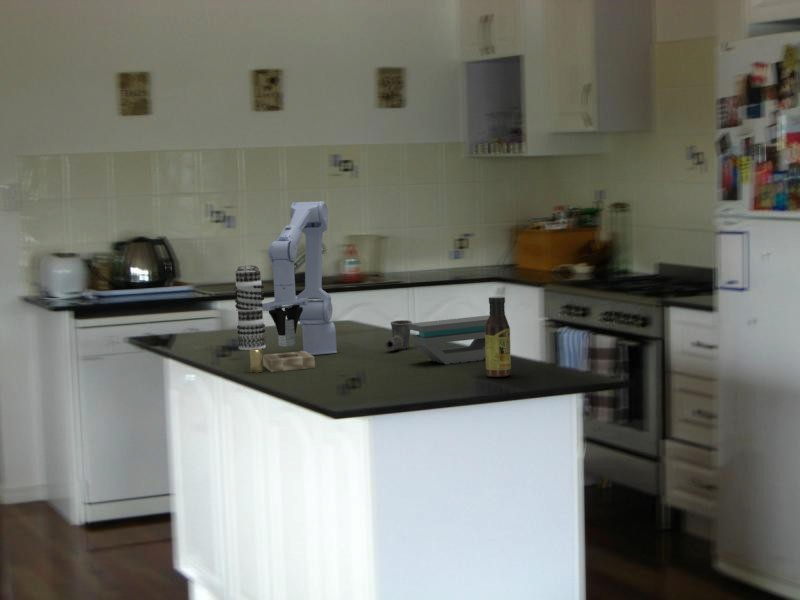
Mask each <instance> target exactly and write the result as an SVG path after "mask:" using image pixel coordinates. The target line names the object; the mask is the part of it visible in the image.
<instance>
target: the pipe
mask: <svg viewBox="0 0 800 600" xmlns="http://www.w3.org/2000/svg"><path fill="white" fill-rule="evenodd" d="M410 323H413V322H412V320H408V319H407V320H404V319H403V320H393V321H391V322H390V325H391V332H392V333H391V334H392V337H388V338H387V339H386V340H385V343H384V344H385V348H386V350H387V351H389V352H394V351H398V350H399V351H400V350H407V349H409V346H410V335H411V330H410V329H409V324H410ZM406 348H407V349H406Z"/></svg>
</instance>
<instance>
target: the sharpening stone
mask: <svg viewBox="0 0 800 600" xmlns="http://www.w3.org/2000/svg"><path fill="white" fill-rule="evenodd" d="M489 316H490V314H489V315H480V316H470V317H469V316H468V317H461V318H459V317H458V318H451V319H441V320H439V319H438V320H431V321H421V322H412V323H410V324H409V329H410V331H413V332H418V334H415V335H413V334H412V343H413V345H414V346H416V347H417V348H418V350H420V351H421V352H422V353H424V354H425V356H427V357H428V358H429V359H430V360H431V361H432V360H433V361H432V362H435V361H437V362H436V363H439V362H440V363H439V364H443V363H444V365H451V364H450V363H453V364H459V362H461V363H467V362H468V361H470V362H476V361H477V360H478V361H483V360H485V359H486V353H485V334H486V331H485V330H486V328H485V325H486V322H487V320H488V318H489ZM471 340H472V342H471V343H470V344H469V346H461V347H452V348H442V349H441V348H440V347H439V346H438V345H437V344H445V343H453V342H461V341H463V342H464V341H471Z"/></svg>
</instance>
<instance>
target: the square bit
mask: <svg viewBox="0 0 800 600" xmlns="http://www.w3.org/2000/svg"><path fill="white" fill-rule="evenodd" d="M277 335H278V334H277ZM277 337H278V346H279V347H284V348H285V347H292V346H296V334H295V331H294V320H292V319H287V318H286V321H285V335H284V336H281V335H278V336H277Z"/></svg>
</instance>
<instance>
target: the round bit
mask: <svg viewBox="0 0 800 600" xmlns="http://www.w3.org/2000/svg"><path fill="white" fill-rule="evenodd" d="M249 361H250V362H249V363H250V373H251V372H254V373H253V374H259V372H261V373H264V366H263V349H251V350H249Z"/></svg>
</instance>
